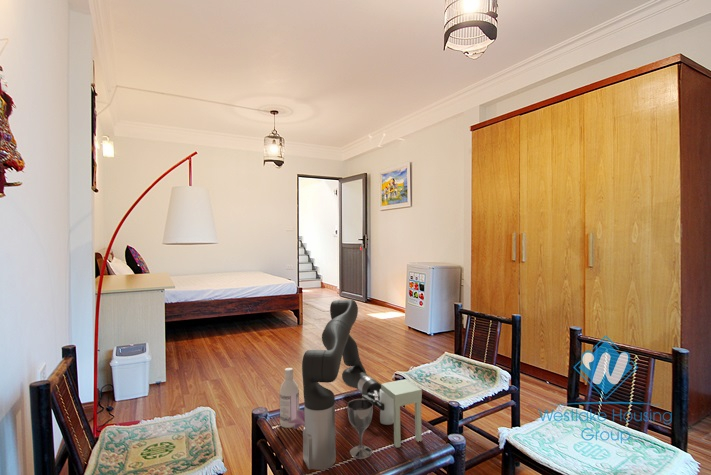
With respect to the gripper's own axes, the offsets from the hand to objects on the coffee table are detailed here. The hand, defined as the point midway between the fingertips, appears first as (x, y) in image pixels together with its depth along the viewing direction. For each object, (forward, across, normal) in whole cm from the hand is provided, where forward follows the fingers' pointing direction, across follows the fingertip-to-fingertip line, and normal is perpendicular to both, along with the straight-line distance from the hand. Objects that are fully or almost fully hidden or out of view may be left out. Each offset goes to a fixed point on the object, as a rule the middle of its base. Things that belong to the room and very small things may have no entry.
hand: (390, 406), depth 129 cm
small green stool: (+8, 0, +7) cm, 10 cm away
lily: (-9, -28, +8) cm, 31 cm away
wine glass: (+10, -16, +8) cm, 20 cm away
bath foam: (-18, -32, +8) cm, 38 cm away
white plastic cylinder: (-3, 0, +6) cm, 7 cm away
